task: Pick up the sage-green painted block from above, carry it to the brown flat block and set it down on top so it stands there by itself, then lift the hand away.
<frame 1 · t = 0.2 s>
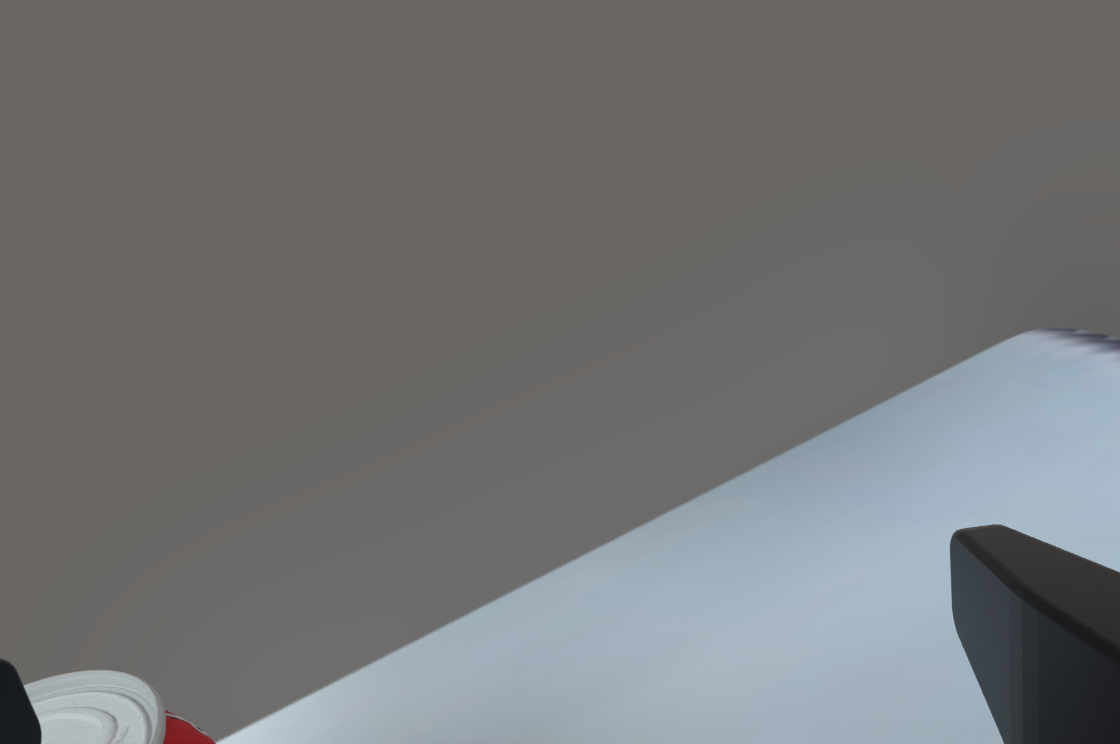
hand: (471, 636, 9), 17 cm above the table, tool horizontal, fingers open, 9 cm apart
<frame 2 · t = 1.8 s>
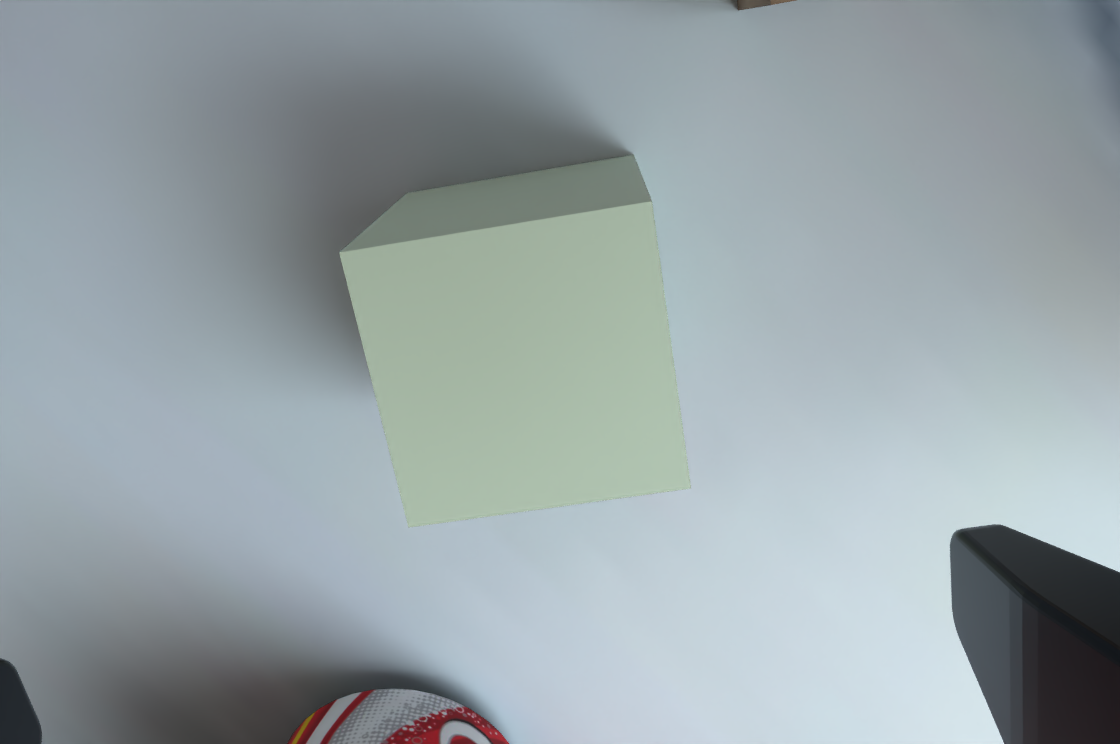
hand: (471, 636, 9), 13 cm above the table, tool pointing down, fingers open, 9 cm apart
sage block: (539, 284, 21), on the table
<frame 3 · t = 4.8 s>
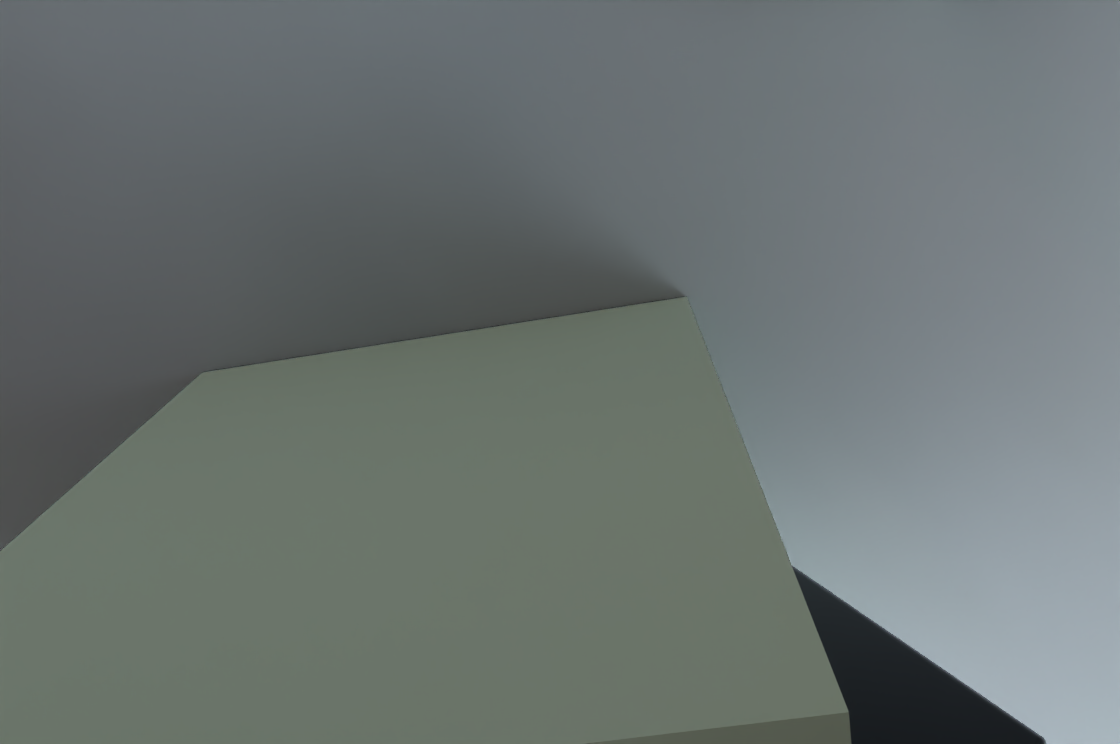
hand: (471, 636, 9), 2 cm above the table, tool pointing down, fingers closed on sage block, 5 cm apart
sage block: (487, 550, 10), on the table, touching gripper
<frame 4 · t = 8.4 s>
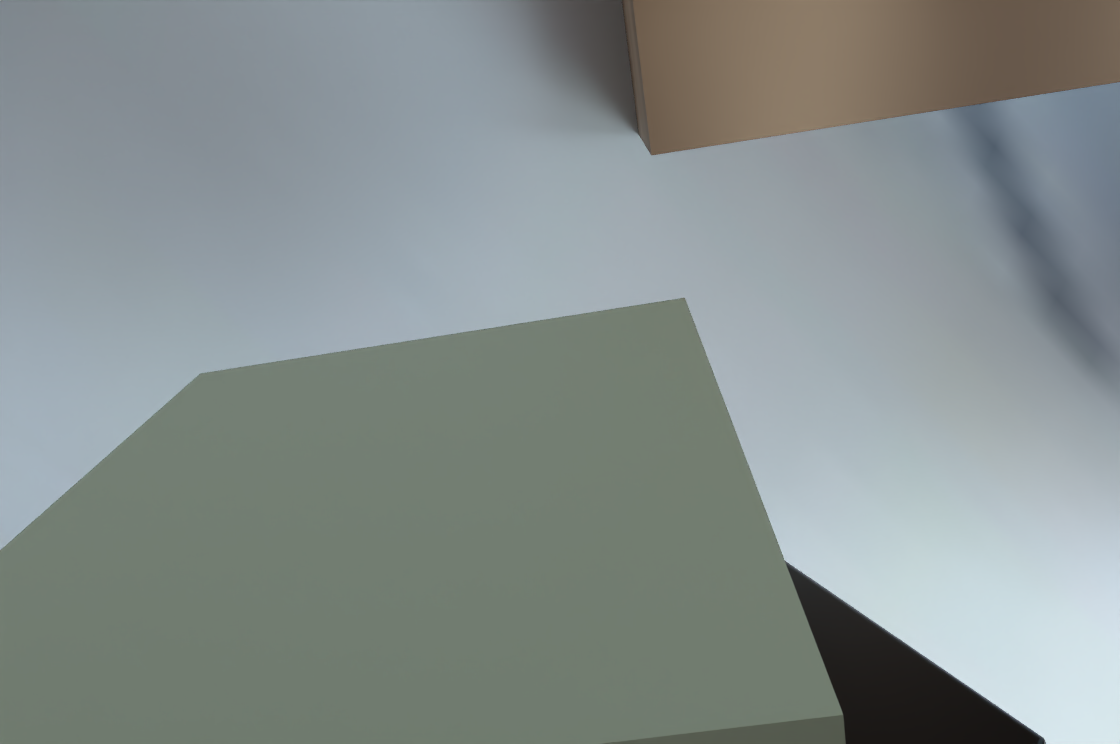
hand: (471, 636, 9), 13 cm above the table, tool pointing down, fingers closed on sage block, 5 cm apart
sage block: (485, 551, 10), point 11 cm above the table, touching gripper
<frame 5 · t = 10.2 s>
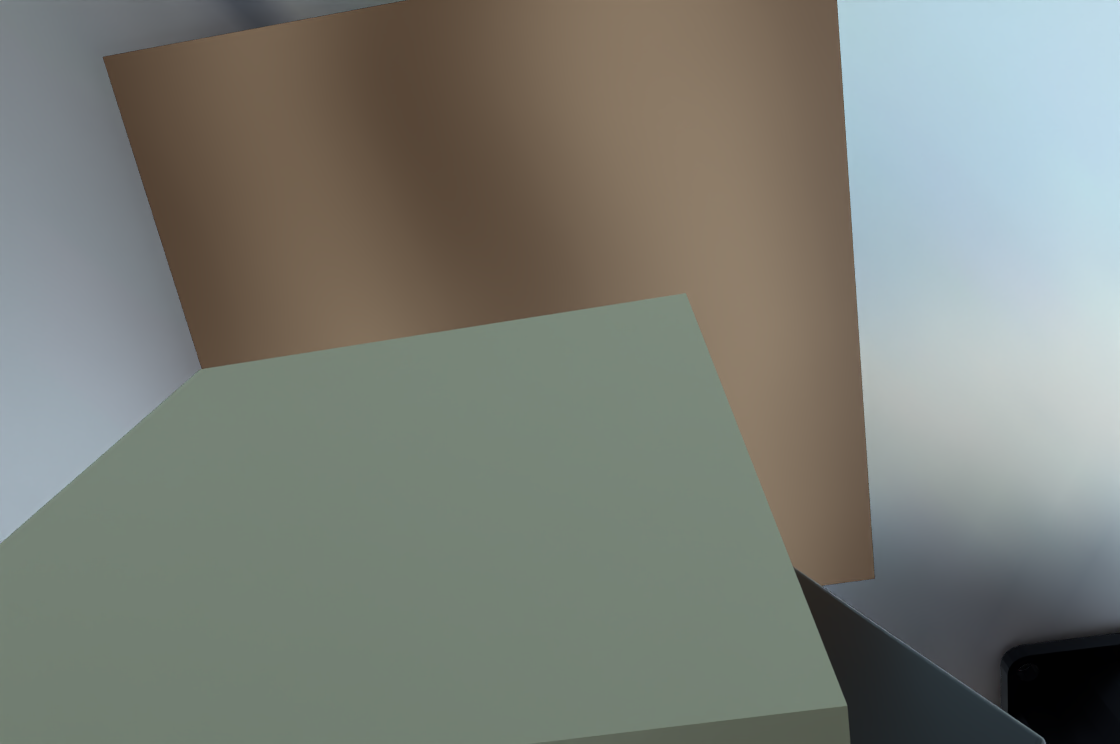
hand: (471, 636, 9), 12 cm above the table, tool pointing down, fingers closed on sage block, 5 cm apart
brown flat block: (533, 285, 21), on the table
sage block: (486, 547, 10), point 11 cm above the table, touching gripper
when the fingers open (7 cm above the table, at t = 12.1 s): sage block drops 2 cm, point 4 cm above the table.
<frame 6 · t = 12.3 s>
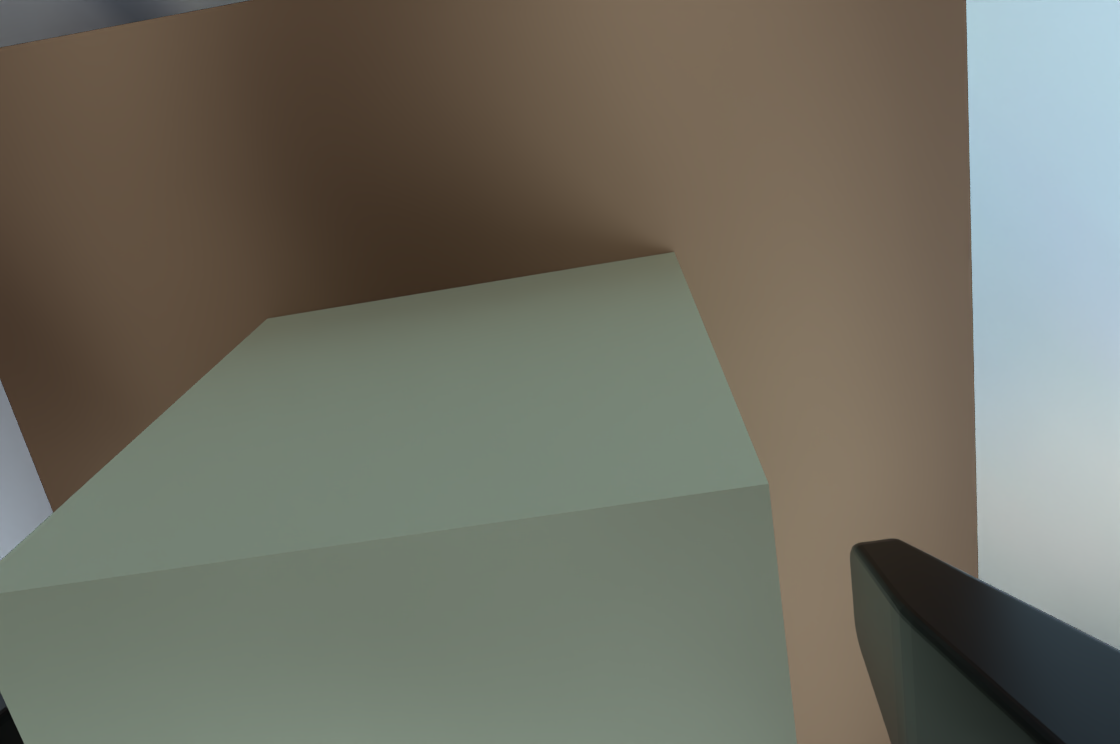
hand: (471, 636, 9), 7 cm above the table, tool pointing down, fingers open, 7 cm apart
brown flat block: (520, 366, 16), on the table
sage block: (506, 471, 12), point 4 cm above the table
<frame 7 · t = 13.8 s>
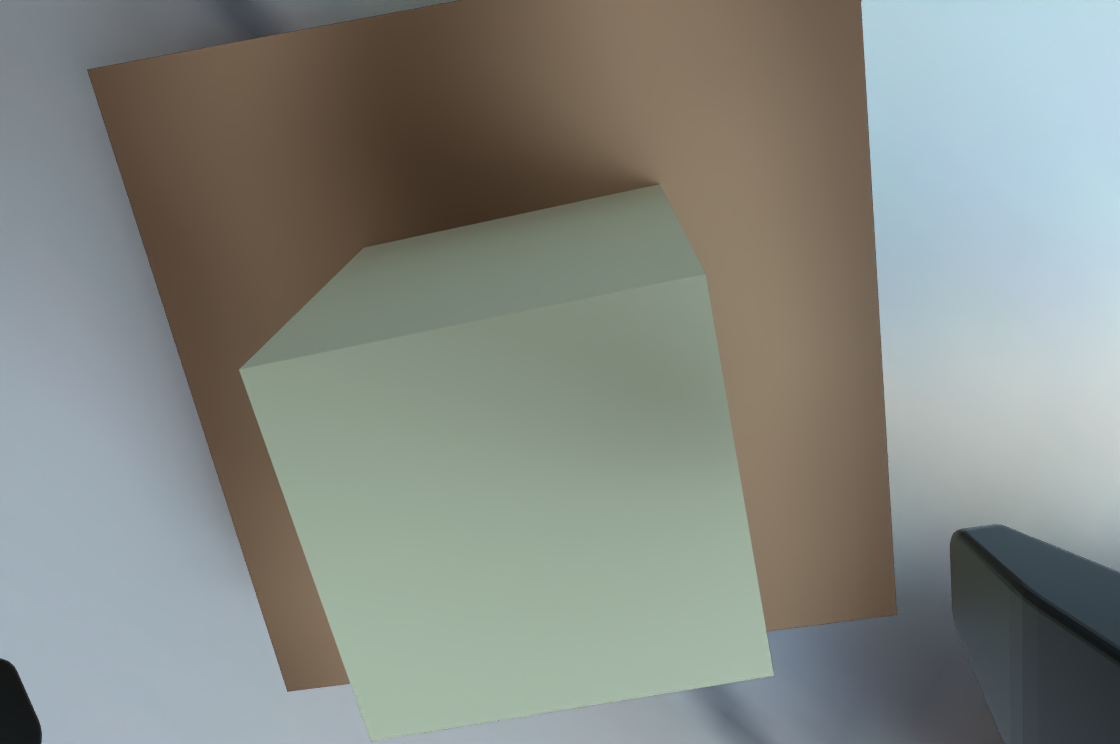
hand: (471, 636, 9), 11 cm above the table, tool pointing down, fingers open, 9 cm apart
brown flat block: (539, 305, 20), on the table, touching sage block
sage block: (542, 357, 16), point 4 cm above the table, touching brown flat block
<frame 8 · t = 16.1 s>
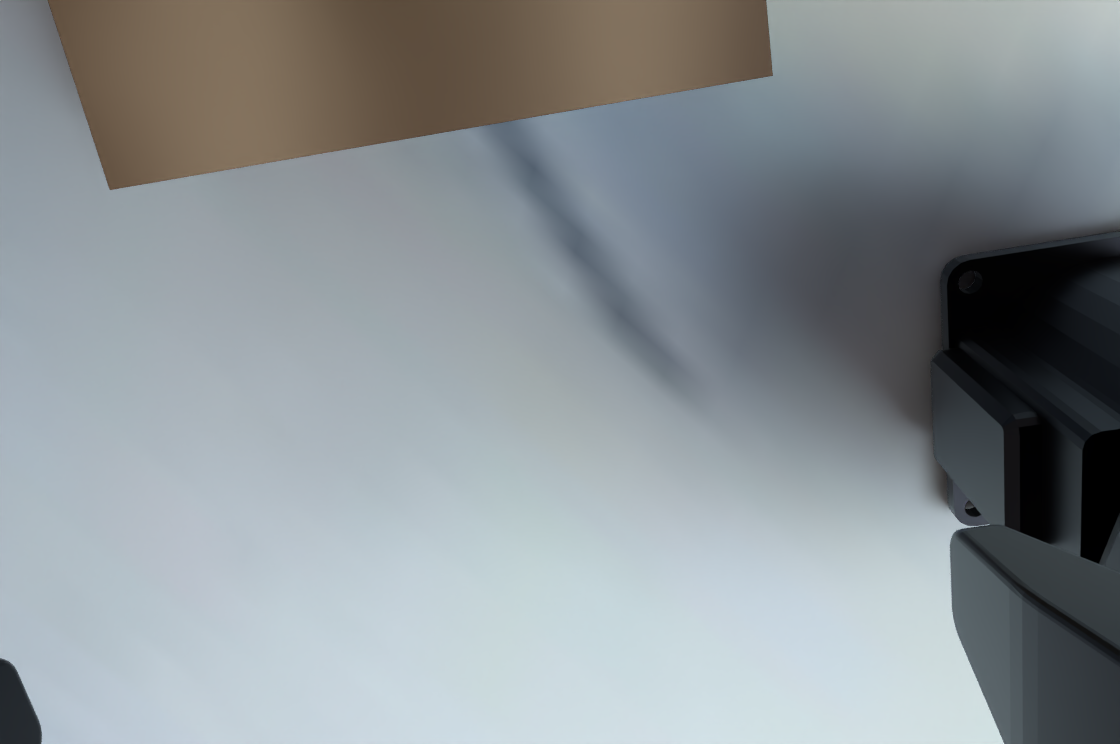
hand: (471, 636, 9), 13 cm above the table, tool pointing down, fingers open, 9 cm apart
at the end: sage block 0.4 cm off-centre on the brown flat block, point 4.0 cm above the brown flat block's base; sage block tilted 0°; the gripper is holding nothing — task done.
